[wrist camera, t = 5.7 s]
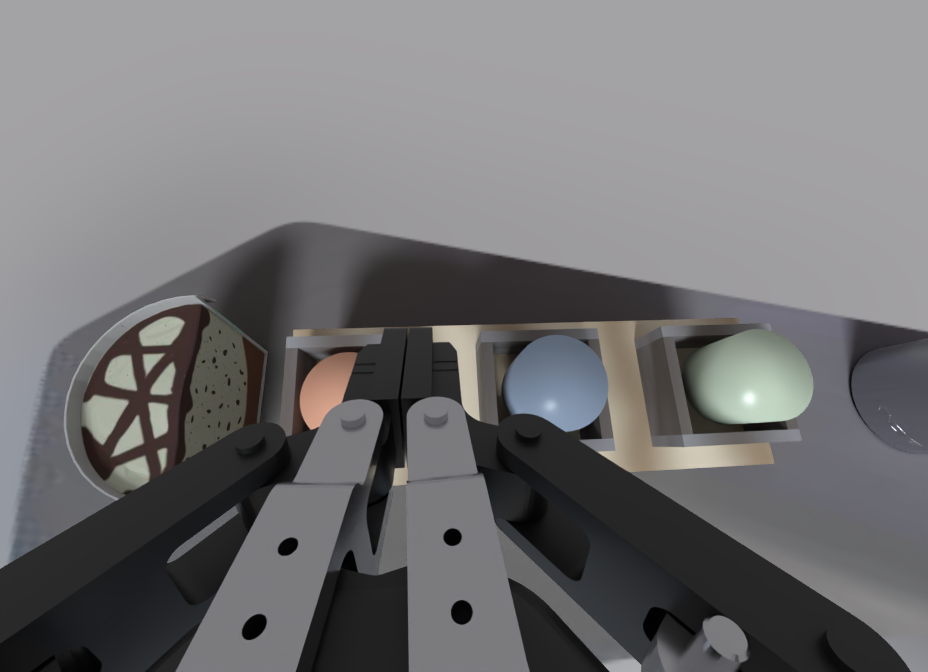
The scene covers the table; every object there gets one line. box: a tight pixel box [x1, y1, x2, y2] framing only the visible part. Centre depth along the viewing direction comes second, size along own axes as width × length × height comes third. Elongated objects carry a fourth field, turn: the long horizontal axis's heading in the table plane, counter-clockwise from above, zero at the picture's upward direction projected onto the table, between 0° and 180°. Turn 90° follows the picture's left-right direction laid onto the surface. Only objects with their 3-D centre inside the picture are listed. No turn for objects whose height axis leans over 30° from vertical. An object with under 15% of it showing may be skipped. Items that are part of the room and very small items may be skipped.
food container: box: [64, 295, 268, 500], centre depth 25 cm, size 12×6×10 cm, turn 1°
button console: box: [280, 318, 802, 486], centre depth 26 cm, size 28×9×12 cm, turn 93°
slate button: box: [502, 335, 608, 432], centre depth 19 cm, size 4×4×3 cm
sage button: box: [681, 329, 813, 425], centre depth 20 cm, size 4×4×3 cm
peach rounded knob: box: [300, 352, 358, 430], centre depth 20 cm, size 4×4×3 cm
